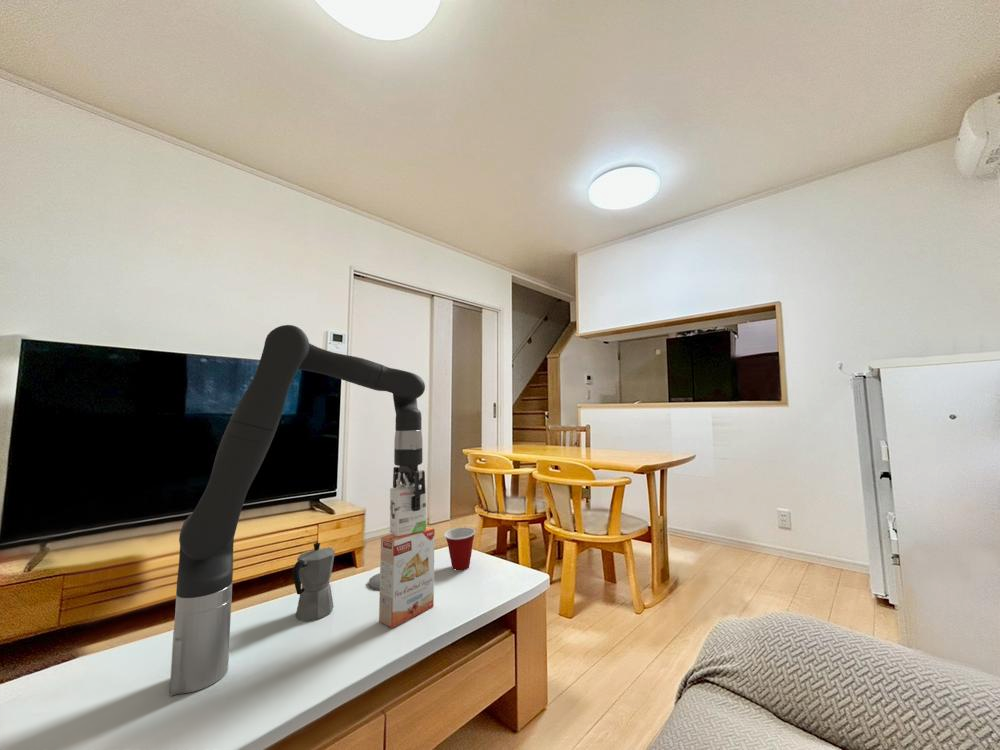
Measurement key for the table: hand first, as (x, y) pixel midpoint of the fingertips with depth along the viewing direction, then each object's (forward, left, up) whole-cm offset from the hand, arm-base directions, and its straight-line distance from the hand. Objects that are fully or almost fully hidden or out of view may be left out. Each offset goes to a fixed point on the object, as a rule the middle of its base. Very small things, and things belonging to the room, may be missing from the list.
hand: (408, 507), depth 105 cm
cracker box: (0, 0, -27) cm, 27 cm away
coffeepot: (-19, +17, -27) cm, 37 cm away
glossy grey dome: (+5, +23, -27) cm, 36 cm away
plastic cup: (+28, +17, -27) cm, 43 cm away
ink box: (0, 0, -6) cm, 6 cm away
